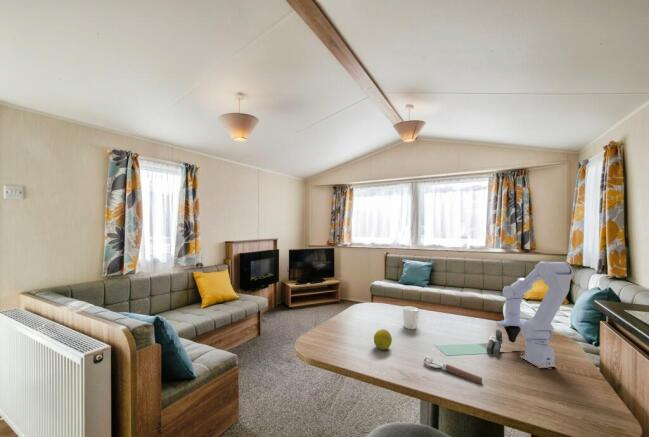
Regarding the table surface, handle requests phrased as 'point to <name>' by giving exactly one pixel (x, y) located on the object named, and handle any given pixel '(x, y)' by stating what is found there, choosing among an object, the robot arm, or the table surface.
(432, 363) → the brown handled opener
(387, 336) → the lemon
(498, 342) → the can opener
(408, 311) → the white cup
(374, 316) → the table surface
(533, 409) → the table surface
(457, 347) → the mat
